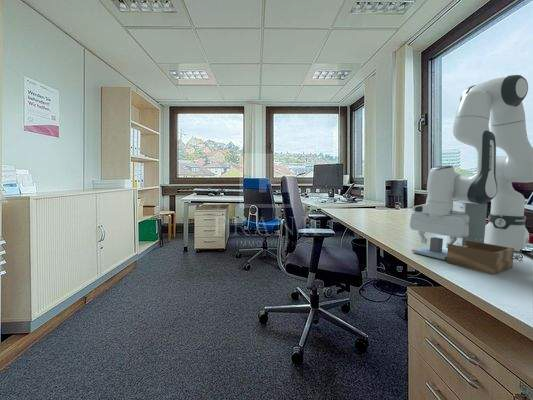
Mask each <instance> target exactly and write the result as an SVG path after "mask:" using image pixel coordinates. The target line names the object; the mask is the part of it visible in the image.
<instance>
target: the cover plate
mask: <svg viewBox="0 0 533 400" xmlns="http://www.w3.org/2000/svg"><path fill="white" fill-rule="evenodd" d="M443 242H444V238H440V237H435V236H434V237H430V244H429V246H428V245H426V246H422V247H417V248H413V249H411V253H415V254H417V253H418V255H421V254H422V256H425V255H427V256H426V257H429V256H431V257H430V258H433V257H435V258H434V259H437V258H439V259H438V260H442V259H443V260H442V261H444V260H445V261H447V251H448V249H443Z"/></svg>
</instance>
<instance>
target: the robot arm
mask: <svg viewBox="0 0 533 400" xmlns="http://www.w3.org/2000/svg"><path fill="white" fill-rule="evenodd" d="M528 84H529V83H528V81H527V79H526V78H525V77H524V76H522V75H521V74H511V75H507V76H505V77H504V76H503V77H497V78H493V79H490V80H487V81H484V82H481V83H477V84H476V85H475V84H474V85H471V86H468V87H467V88H465V89H464V90H463V92H461V95H460V98H459V104H458V107H457V110H456V113H455V117H454V120H453V121H454V122H453V126H452V133H453V136H454V138H455V139H456V140H457V141H458V142H459V143H462V144H465V145H467V146H470V147H474V148H475V150H476V152H477V166H476V174H474V175H468V174H467V175H465V174H464V175H463V174H460V173H458V172H457V171H455V167H454V166H453V165H438V166H434V167H431V168H430V170H429V173H428V176H427V184H426V190H427V197H426V199H425V203H423V204H419V205H415V206H412V211H413V212H412V213H411V214H410V218H409V220H410V221H409V228H410V229H411V230H412V231H418V236H419V238H420V243H422V244H427V243H428V238H426V236H425V234H426V233H429V234H435V235H439V236H440V235H441V236H450V239H452V240H451V241H450V243H447V242H446V244H445V245H446V246H445V248H446V249H448V244H453V243H454V242H455V241H456V240H457V238H466V237H467V236H468V235H469V226H468V223H469V216H468V214H466V213H465V212H458V211H453V201H468V202H473V203H478V204H488V203H489V202H490V203H491V204H490V213H489V214H488V223H486V226H485V237H484V243H486V244H492V245H498V246H503V247H509V248H514V252H521V251H520V249H525V247H527V246H533V244H532V243H530V233H529V231H528V229H527V227H526V220H527V216H526V215H525V208H526V207H525V205H526V198H525V196H524V194H523V193H521V192H519V191H517V190H515V188H514V187H513V183H533V145H531V143H530V141H529V138H528V133H527V125H526V123H527V122H526V113H525V108H524V105H523V101H524V100H525V99H526V97H527V94H528V91H529V85H528ZM489 123H490V128H489ZM497 148H498V149H501V150H503V151H504V153H505V154H506V155H500V156H499V155H497ZM459 214H460V215H459Z"/></svg>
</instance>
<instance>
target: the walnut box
mask: <svg viewBox="0 0 533 400" xmlns="http://www.w3.org/2000/svg"><path fill="white" fill-rule="evenodd" d="M447 250H448V251H447V259H446V264H451V265H455V266H459V267H463V268H467V269H470V270H474V271H478V272H482V273H487V274H491V275H497V274H499V273H502V272H505V271H508V270H509V269H513V266H514V265H513V264H514V255H515V251H514V248H509V247H503V246H498V245H492V244H486V243H481V242H475V241H470V240H466V246H458V245H453V244H448V248H447Z"/></svg>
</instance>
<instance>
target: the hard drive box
mask: <svg viewBox="0 0 533 400" xmlns="http://www.w3.org/2000/svg"><path fill="white" fill-rule="evenodd" d="M453 211H458V212H465V213H466V214H468V216H469V223H468V226H469V235H468V236H467V237H466V238H457V240H456V241H455V242H454V243H453V245H458V246H466V240H470V241H475V242H481V243H484V237H485V226H486V225H487V212H488V203H485V204H478V203H473V202H468V201H458V200H453ZM459 215H460V214H459ZM451 240H452V239H450V236H447V237H446V243H450V241H451Z"/></svg>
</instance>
